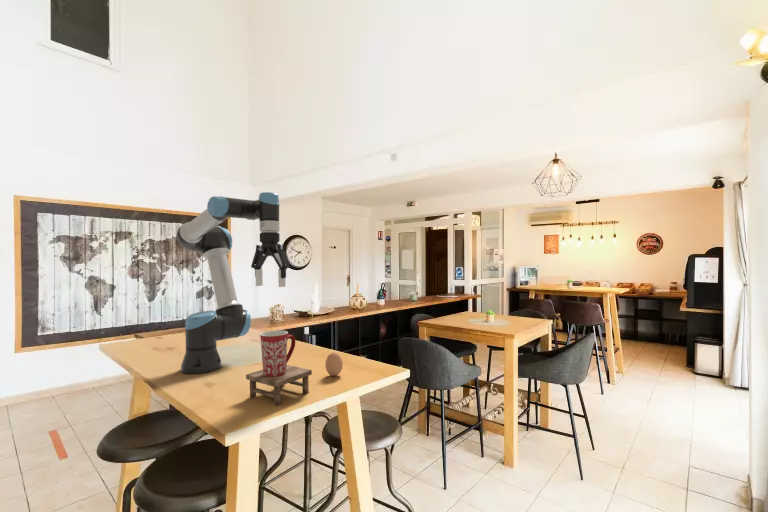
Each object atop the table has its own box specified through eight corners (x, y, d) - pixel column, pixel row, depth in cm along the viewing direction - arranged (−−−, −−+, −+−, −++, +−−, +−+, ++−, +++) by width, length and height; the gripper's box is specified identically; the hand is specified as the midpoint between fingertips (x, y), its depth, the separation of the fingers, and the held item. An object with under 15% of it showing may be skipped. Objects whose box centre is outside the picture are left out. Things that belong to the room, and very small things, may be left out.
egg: (346, 375, 146) (346, 352, 146) (332, 379, 141) (332, 355, 141) (335, 372, 151) (335, 349, 151) (322, 375, 146) (321, 352, 146)
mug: (269, 379, 119) (269, 336, 119) (255, 374, 125) (254, 333, 125) (303, 370, 128) (302, 330, 128) (287, 365, 134) (287, 327, 134)
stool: (246, 397, 124) (246, 374, 124) (282, 384, 137) (281, 363, 137) (276, 407, 116) (276, 382, 116) (311, 392, 128) (311, 370, 128)
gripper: (241, 233, 152) (242, 285, 152) (283, 230, 138) (284, 288, 138) (257, 234, 159) (257, 284, 159) (298, 231, 145) (299, 286, 145)
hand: (270, 286), depth 149 cm, fingers open, 13 cm apart
